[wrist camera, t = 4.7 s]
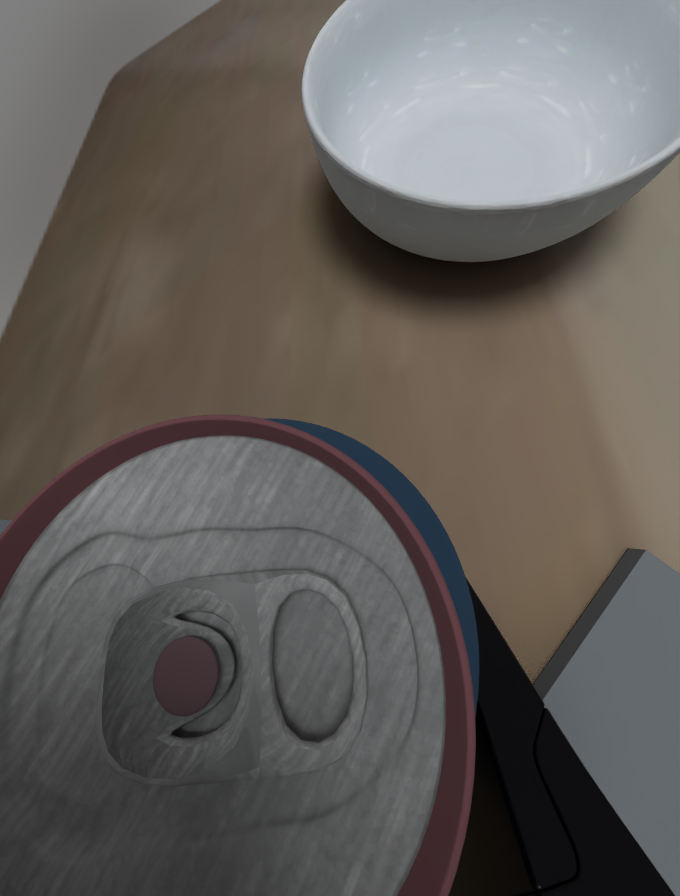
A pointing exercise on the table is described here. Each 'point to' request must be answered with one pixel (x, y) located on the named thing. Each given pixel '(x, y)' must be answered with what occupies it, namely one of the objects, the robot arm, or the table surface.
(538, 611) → the table surface
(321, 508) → the soda can
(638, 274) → the table surface
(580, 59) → the serving bowl
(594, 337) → the table surface
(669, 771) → the mat
